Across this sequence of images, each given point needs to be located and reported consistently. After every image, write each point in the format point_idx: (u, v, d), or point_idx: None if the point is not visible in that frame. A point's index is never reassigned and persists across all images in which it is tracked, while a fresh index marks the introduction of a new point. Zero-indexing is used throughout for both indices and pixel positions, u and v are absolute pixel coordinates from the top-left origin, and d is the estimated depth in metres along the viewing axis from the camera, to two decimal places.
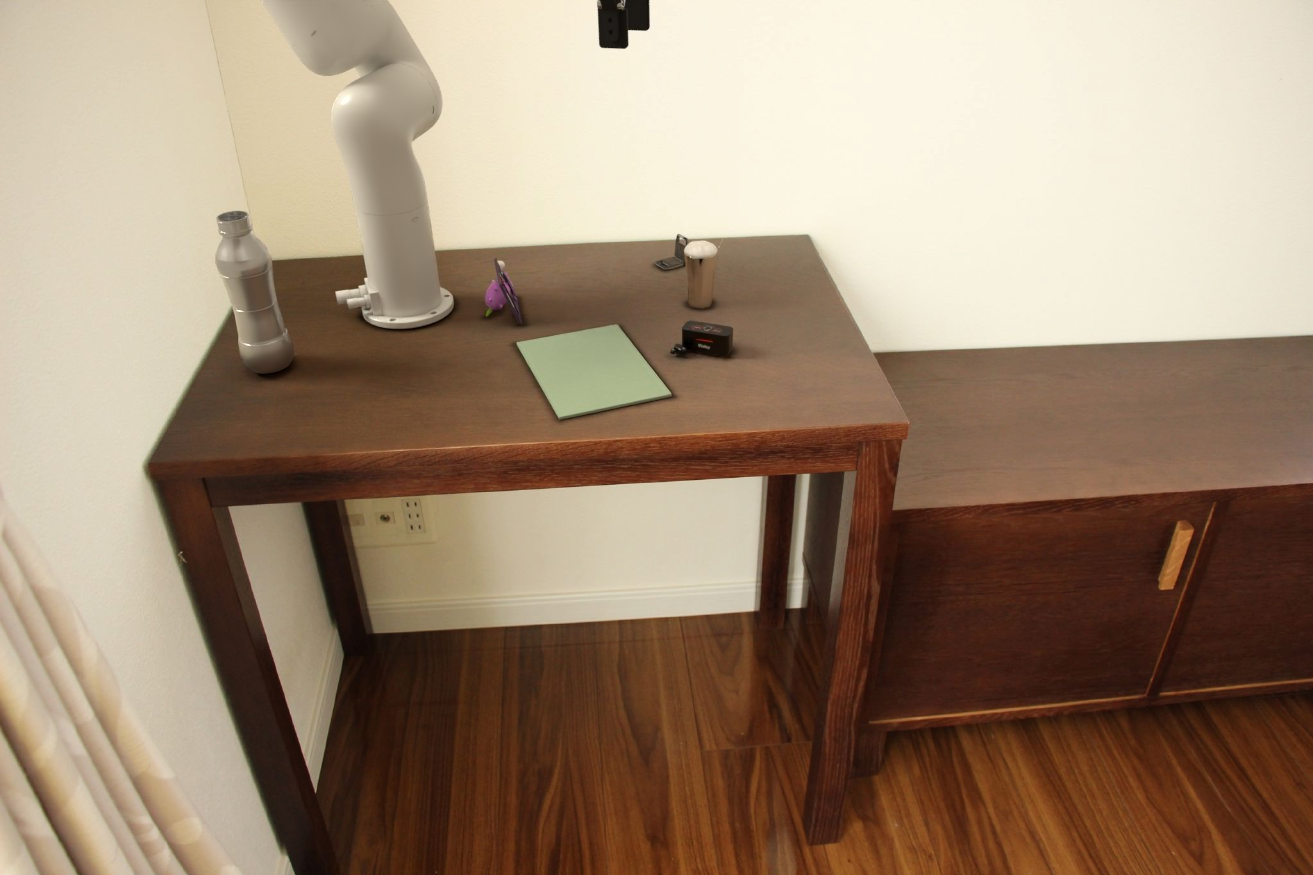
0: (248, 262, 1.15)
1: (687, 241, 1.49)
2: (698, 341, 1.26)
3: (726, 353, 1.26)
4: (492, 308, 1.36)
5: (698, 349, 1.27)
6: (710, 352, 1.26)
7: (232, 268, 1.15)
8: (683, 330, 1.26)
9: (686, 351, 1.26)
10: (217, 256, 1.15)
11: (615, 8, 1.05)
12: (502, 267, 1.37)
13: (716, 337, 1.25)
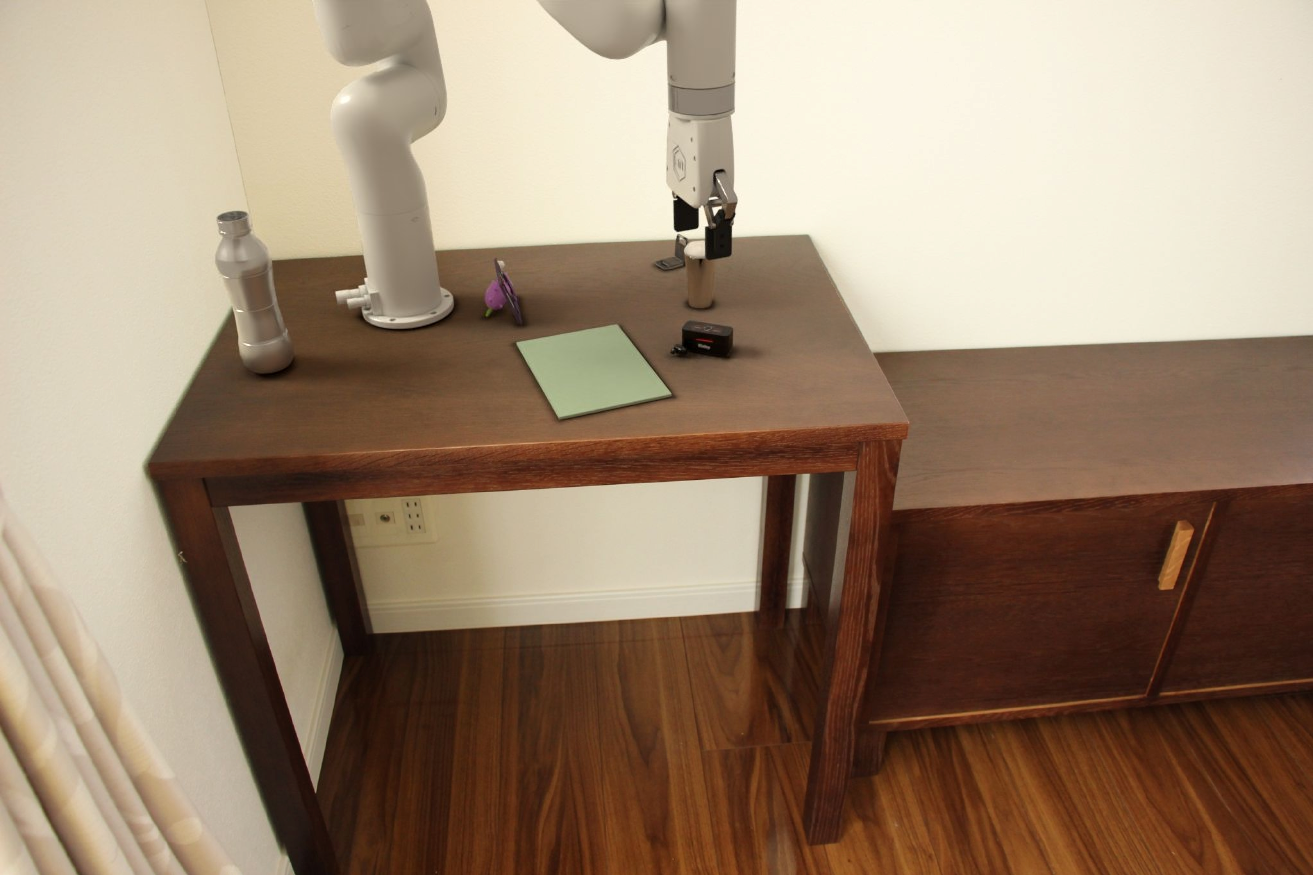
0: (248, 262, 1.15)
1: (687, 241, 1.49)
2: (698, 341, 1.26)
3: (726, 353, 1.26)
4: (492, 308, 1.36)
5: (698, 349, 1.27)
6: (710, 352, 1.26)
7: (232, 268, 1.15)
8: (683, 330, 1.26)
9: (686, 351, 1.26)
10: (217, 256, 1.15)
11: (727, 225, 1.12)
12: (502, 267, 1.37)
13: (716, 337, 1.25)
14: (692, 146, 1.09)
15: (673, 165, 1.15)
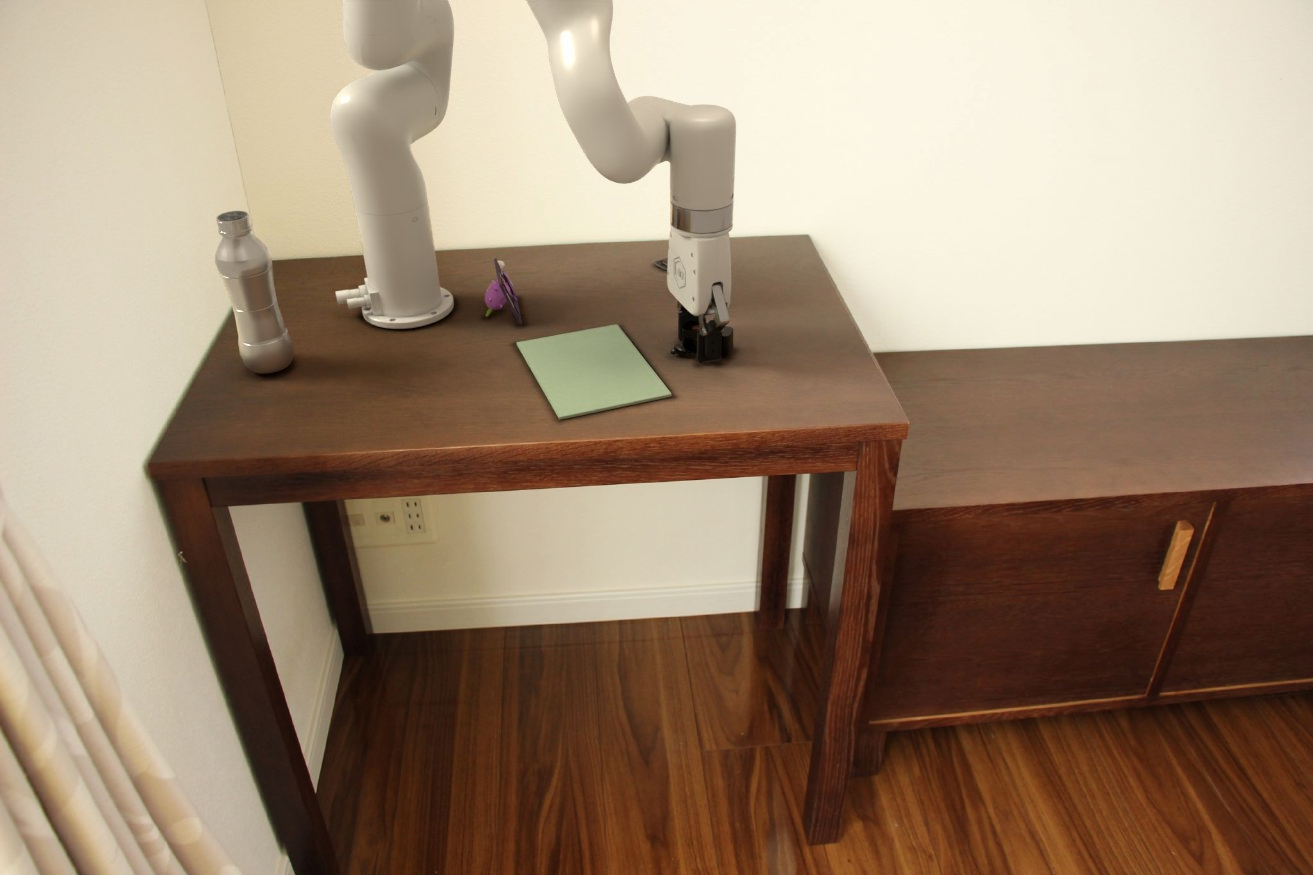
0: (248, 262, 1.15)
1: None
2: None
3: (726, 353, 1.26)
4: (492, 308, 1.36)
5: None
6: None
7: (232, 268, 1.15)
8: (683, 330, 1.26)
9: (686, 351, 1.26)
10: (217, 256, 1.15)
11: (718, 333, 1.22)
12: (502, 267, 1.37)
13: None
14: (692, 261, 1.16)
15: (674, 272, 1.22)
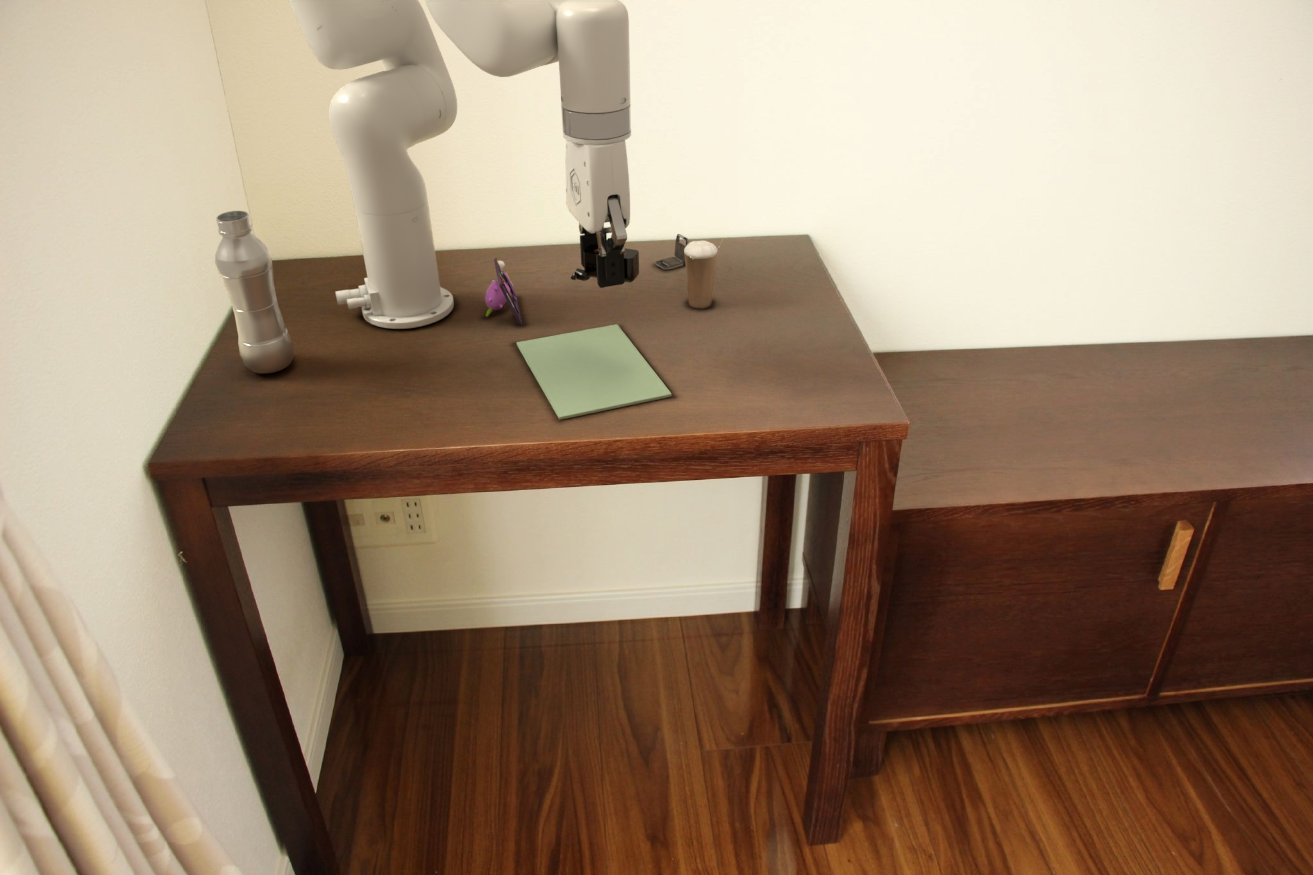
0: (248, 262, 1.15)
1: (687, 241, 1.49)
2: None
3: (631, 278, 1.16)
4: (492, 308, 1.36)
5: None
6: None
7: (232, 268, 1.15)
8: (584, 254, 1.16)
9: (588, 276, 1.16)
10: (217, 256, 1.15)
11: (618, 254, 1.12)
12: (502, 267, 1.37)
13: None
14: (585, 171, 1.07)
15: (571, 188, 1.13)
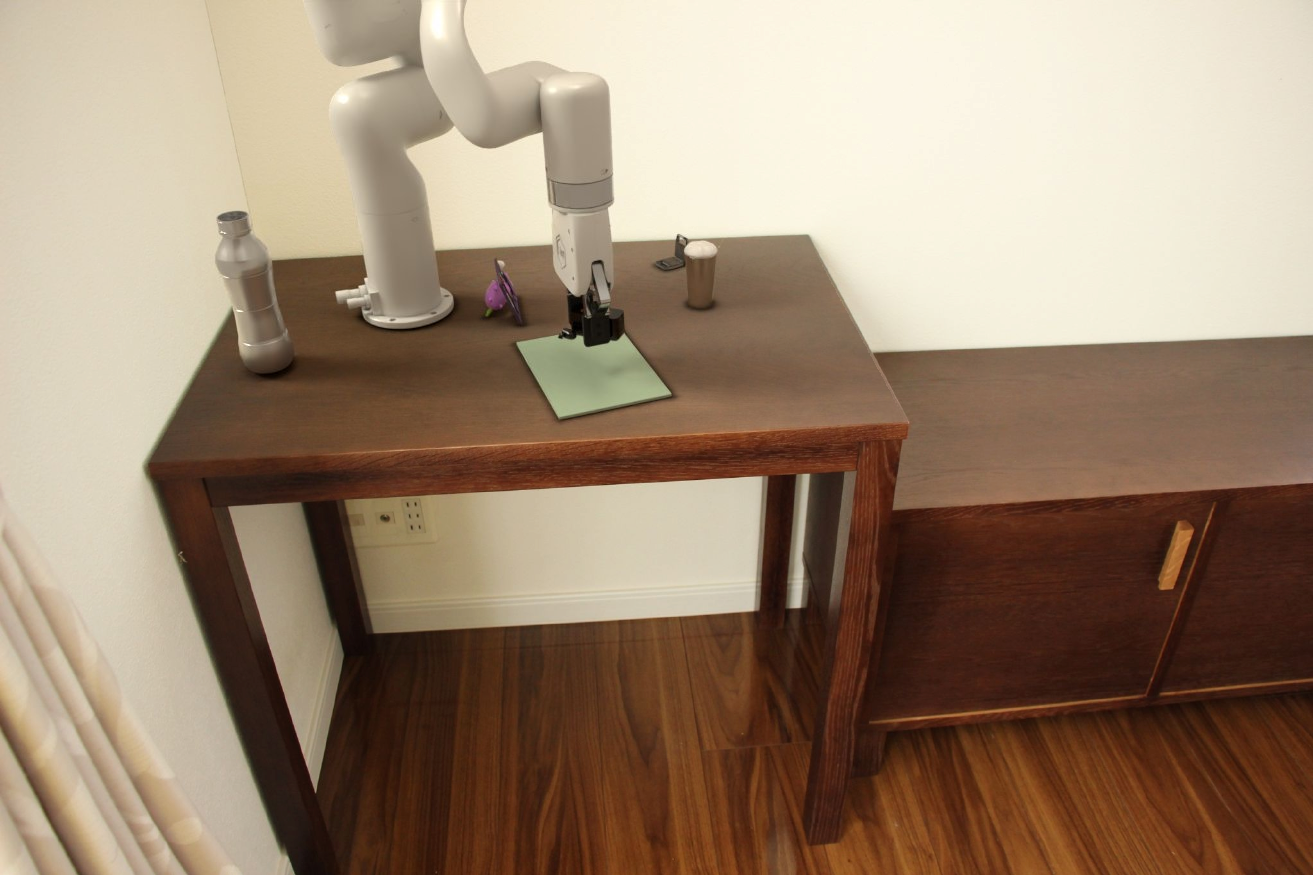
0: (248, 262, 1.15)
1: (687, 241, 1.49)
2: None
3: (616, 337, 1.19)
4: (492, 308, 1.36)
5: None
6: None
7: (232, 268, 1.15)
8: (571, 313, 1.20)
9: (574, 335, 1.19)
10: (217, 256, 1.15)
11: (603, 315, 1.16)
12: (502, 267, 1.37)
13: None
14: (569, 238, 1.10)
15: (557, 251, 1.16)
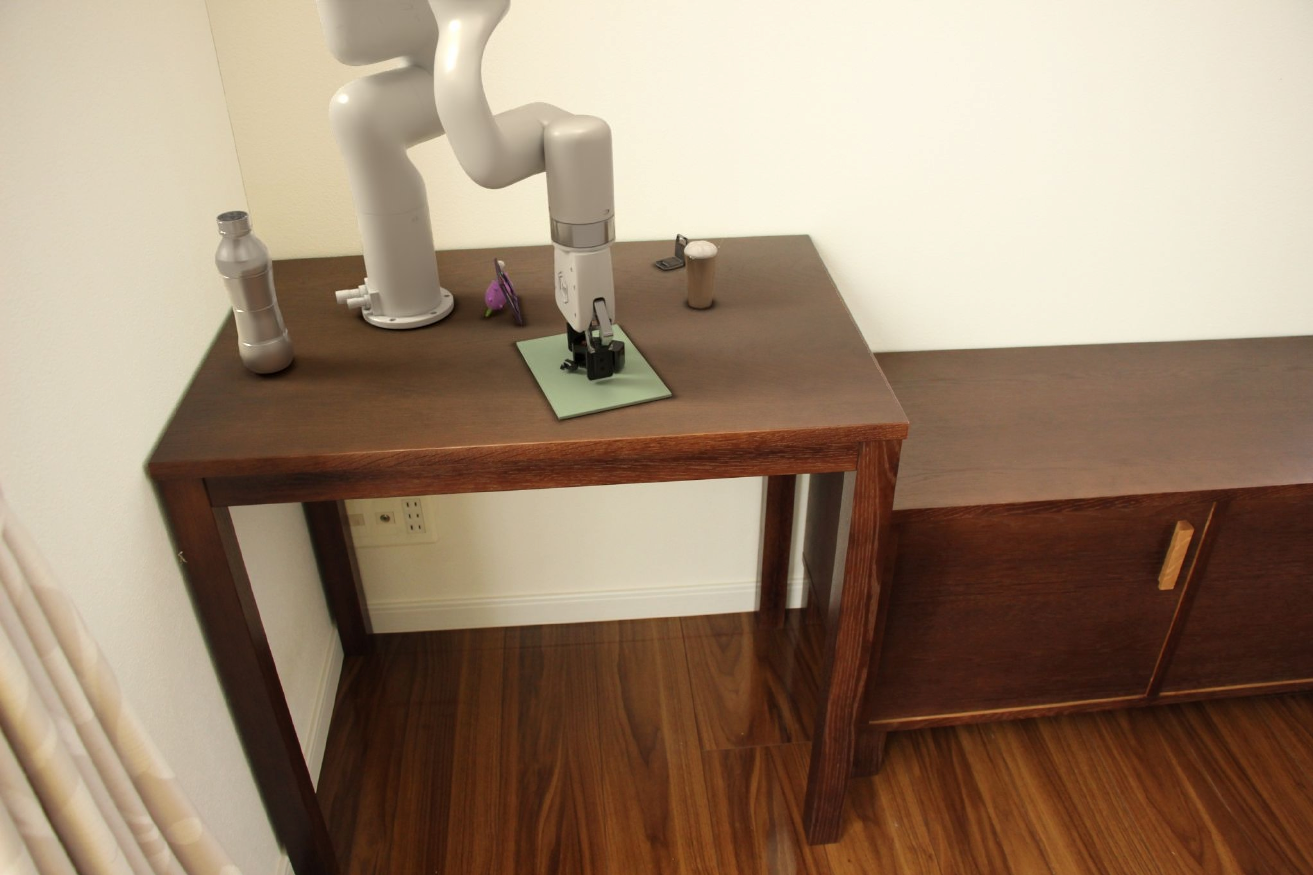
0: (248, 262, 1.15)
1: (687, 241, 1.49)
2: None
3: (617, 369, 1.22)
4: (492, 308, 1.36)
5: None
6: None
7: (232, 268, 1.15)
8: (573, 345, 1.22)
9: (576, 367, 1.22)
10: (217, 256, 1.15)
11: (606, 350, 1.17)
12: (502, 267, 1.37)
13: None
14: (572, 276, 1.12)
15: (559, 287, 1.19)
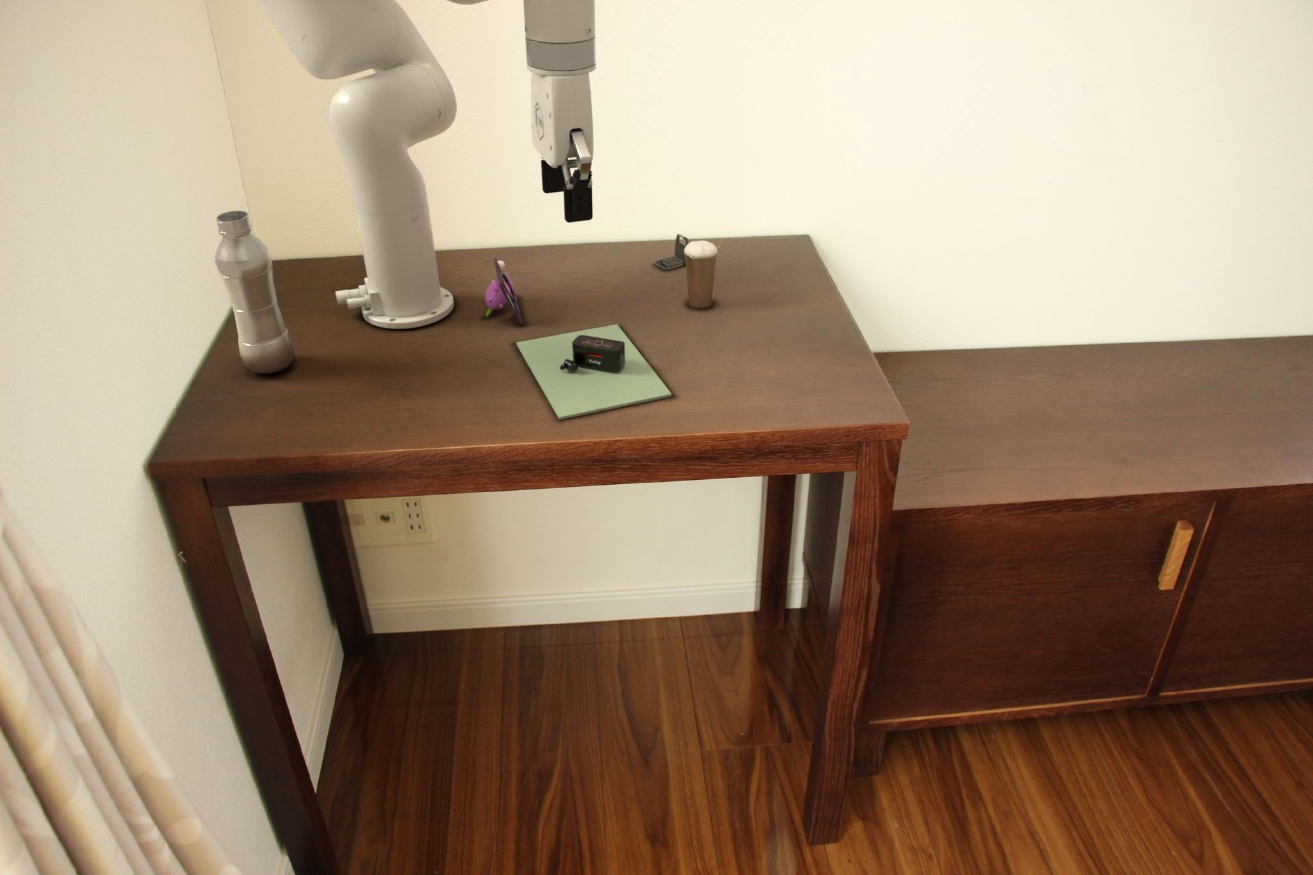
0: (248, 262, 1.15)
1: (687, 241, 1.49)
2: (589, 356, 1.22)
3: (617, 369, 1.22)
4: (492, 308, 1.36)
5: (589, 364, 1.23)
6: (601, 368, 1.22)
7: (232, 268, 1.15)
8: (573, 345, 1.22)
9: (576, 367, 1.22)
10: (217, 256, 1.15)
11: (586, 187, 1.09)
12: (502, 267, 1.37)
13: (606, 352, 1.21)
14: (547, 103, 1.06)
15: (535, 123, 1.12)
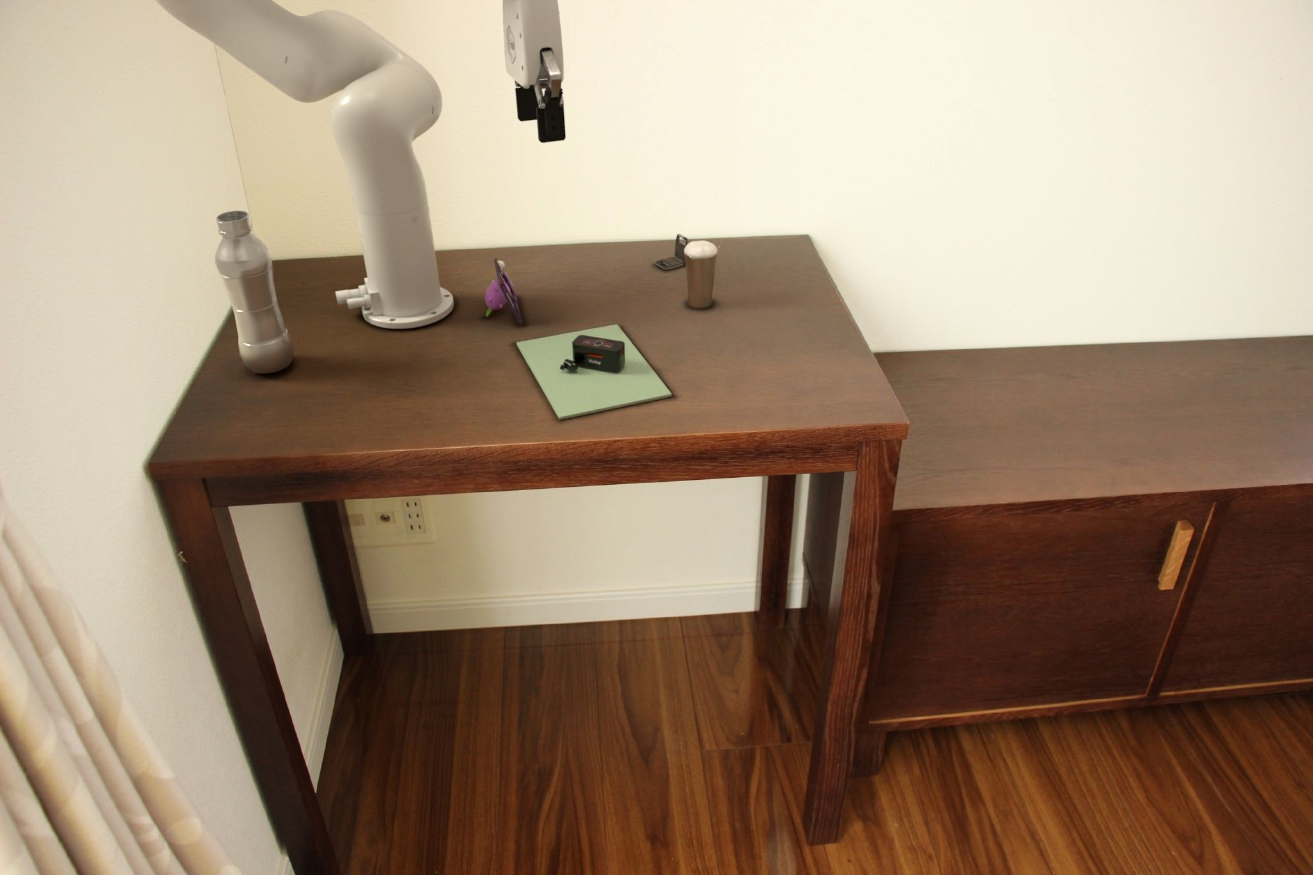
0: (248, 262, 1.15)
1: (687, 241, 1.49)
2: (589, 356, 1.22)
3: (617, 369, 1.22)
4: (492, 308, 1.36)
5: (589, 365, 1.23)
6: (601, 368, 1.22)
7: (232, 268, 1.15)
8: (573, 345, 1.22)
9: (576, 367, 1.22)
10: (217, 256, 1.15)
11: (557, 106, 1.13)
12: (502, 267, 1.37)
13: (606, 352, 1.21)
14: (518, 23, 1.10)
15: (508, 48, 1.16)
